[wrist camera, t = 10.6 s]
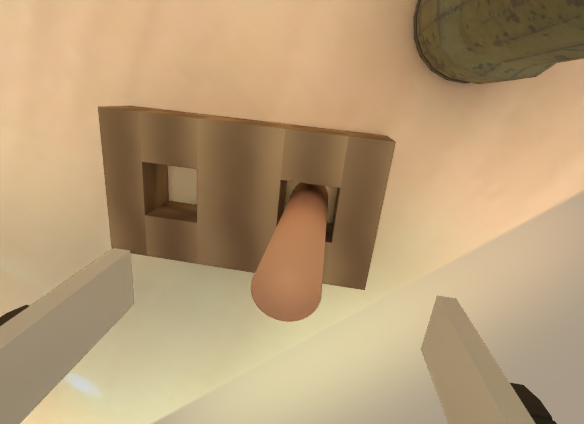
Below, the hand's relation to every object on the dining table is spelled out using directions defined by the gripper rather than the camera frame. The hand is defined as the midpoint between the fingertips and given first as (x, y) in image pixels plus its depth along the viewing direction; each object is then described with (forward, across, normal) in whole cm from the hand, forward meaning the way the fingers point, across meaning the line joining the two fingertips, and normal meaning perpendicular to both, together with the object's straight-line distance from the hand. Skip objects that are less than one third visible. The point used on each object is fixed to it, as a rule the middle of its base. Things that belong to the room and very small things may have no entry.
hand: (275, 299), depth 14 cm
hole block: (+16, +5, 0) cm, 17 cm away
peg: (+16, -1, 0) cm, 16 cm away
